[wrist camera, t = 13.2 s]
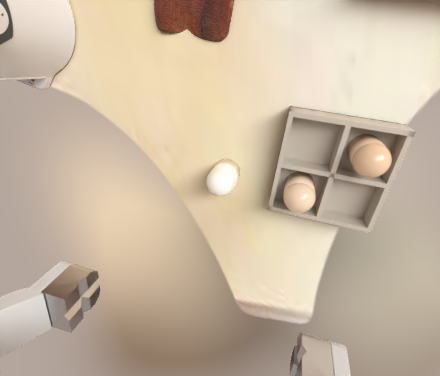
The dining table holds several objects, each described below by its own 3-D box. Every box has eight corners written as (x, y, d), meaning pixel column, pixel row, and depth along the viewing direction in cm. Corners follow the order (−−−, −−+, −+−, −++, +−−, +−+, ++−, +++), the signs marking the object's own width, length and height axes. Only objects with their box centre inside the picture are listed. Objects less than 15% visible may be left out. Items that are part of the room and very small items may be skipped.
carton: (269, 198, 42) (267, 209, 39) (290, 106, 36) (289, 111, 33) (365, 219, 40) (370, 233, 37) (405, 124, 34) (415, 131, 31)
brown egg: (342, 161, 37) (349, 179, 31) (352, 131, 35) (362, 145, 30) (375, 166, 36) (388, 186, 31) (387, 136, 34) (402, 152, 29)
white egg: (213, 180, 44) (201, 197, 38) (215, 156, 42) (203, 171, 37) (238, 185, 43) (229, 204, 38) (241, 161, 41) (233, 177, 36)
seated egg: (282, 193, 41) (279, 214, 36) (288, 168, 39) (286, 186, 34) (310, 199, 40) (311, 221, 35) (317, 174, 38) (320, 193, 33)
